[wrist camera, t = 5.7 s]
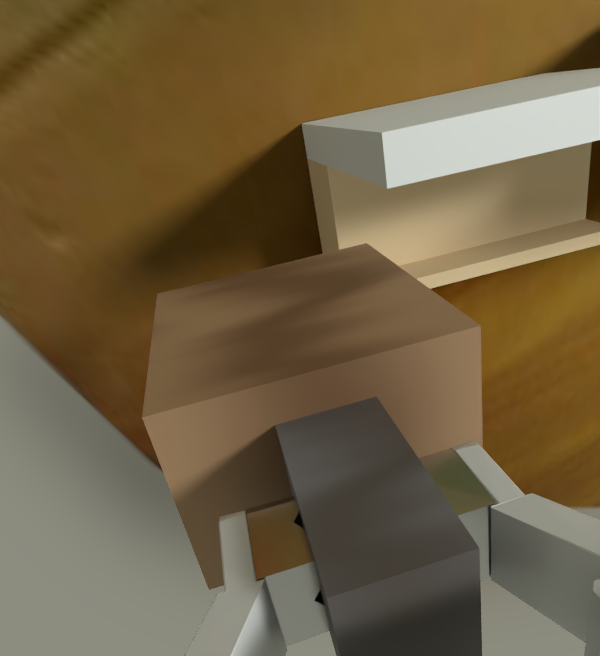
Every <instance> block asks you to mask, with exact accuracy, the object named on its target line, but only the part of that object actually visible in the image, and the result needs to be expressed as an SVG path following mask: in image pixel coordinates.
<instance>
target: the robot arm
mask: <svg viewBox="0 0 600 656" xmlns="http://www.w3.org/2000/svg"><path fill="white" fill-rule="evenodd" d="M419 460H420V461H421V463H422V464H423V466H424V467H425V469H426V470H427V472H428V473H429V474H430V476H431V477H432V479H433V480H434V482H435V483H436V485H437V486H438V488H439V489H440V491H441V492H442V494H443V495H444V497H445V498H446V499H447V501H448V502H449V504H450V505H451V507H452V508H453V510H454V511H455V513H456V514H457V516H458V517H459V519H460V520H461V522H462V523H463V524H464V526H465V527H466V529H467V530H468V532H469V533H470V535H471V536H472V538H473V539H474V541H475V542H476V544H477V545H478V547H479V549H480V581H481V580H484V579H487V578H490V577H491V579H492V580H493V581H494V582H495V583H497V584H499V585H500V586H502V587H503V588H505V589H506V590H508V591H509V592H510V593H512V594H513V595H515V596H517V597H518V598H519V599H521V600H522V601H524V602H525V603H527V604H529V605H530V606H531V607H533V608H534V609H536V610H538V611H539V612H540V613H542V614H543V615H545V616H546V617H548V618H549V619H551V620H552V621H554V622H555V623H557V624H558V625H560V626H561V627H563V628H564V629H566V630H567V631H569V632H570V633H572V634H573V635H575V636H576V637H578V638H579V639H581V640H582V641H584V642H585V643H586V646H585V654H584V656H600V520H598V519H595V518H593V517H590V516H588V515H585V514H583V513H580V512H578V511H575V510H573V509H570V508H568V507H565V506H563V505H560V504H558V503H555V502H553V501H550V500H548V499H545V498H543V497H540V496H538V495H535V494H533V493H531V494H528V495H524V494H523V492H522V491H521V490H520V489H519V488H518V487H517V486H516V485H515V484H514V483H513V481H512V480H511V479H510V478H509V477H508V476H507V475H506V474H505V473H504V471H503V470H502V469H501V468H500V467H499V466H498V465H497V464H496V463H495V461H494V460H493V459H492V458H491V457H490V456H489V455H488V454H487V453H486V452H485V450H484V449H483V448H482V447H481V446H480V445H479V444H478V443H477V442H474V441H471V442H468V443H464V444H461V445H458V446H455V447H452V448H450V449H446V450H443V451H439V452H436V453H433V454H430V455H427V456H423V457H420V458H419ZM219 534H220V545H221V556H222V567H223V579H224V590H225V591H224V592H222V593H219V594H217V595H216V597H215V598H214V600H213V602H212V604H211V606H210V608H209V610H208V612H207V614H206V616H205V617H204V619H203V621H202V623H201V625H200V627H199V629H198V631H197V633H196V635H195V637H194V638H193V640H192V642H191V644H190V646H189V648H188V650H187V652H186V654H185V656H285V655H286V652H287V648H286V647H287V646H289V645H292V644H295V643H297V642H300V641H303V640H306V639H308V638H311V637H313V636H316V635H319V634H321V633H324V632H327V631H330V626H329V622H328V618H327V614H326V609H325V605H324V602H323V598H322V595H321V592H320V589H321V588H320V584H319V580H318V576H317V572H316V567H315V563H314V560H313V556H312V553H311V549H310V546H309V543H308V539H307V536H306V532H305V529H303V525H302V521H301V516H300V512H299V509H298V505H297V502H296V499H295V496H292V497H288V498H285V499H281V500H278V501H274V502H270V503H267V504H263V505H259V506H256V507H252V508H248V509H246V510H244V511H240V512H236V513H233V514H229V515H225V516H221V517H220V519H219Z"/></svg>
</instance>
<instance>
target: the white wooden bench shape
mask: <svg viewBox="0 0 600 656" xmlns="http://www.w3.org/2000/svg"><path fill="white" fill-rule="evenodd" d="M302 130H303V136H304V142H305V148H306V154H307V160H308V167H309V173H310V179H311V185H312V191H313V197H314V203H315V210H316V216H317V222H318V228H319V234H320V240H321V247H322V253H323V254H324V253H328V252H332V251H336V250H340V249H344V248H349V247H353V246H357V245H361V244H365V243H367V244H369V245H370V246H371V247H373V248H374V249H376V250H377V251H378V252H380V253H381V254H382V255H384V256H385V257H387V258H388V259H389V260H391V261H392V262H393V263H395V264H396V265H398V266H399V267H400V268H402V269H403V270H405V271H406V272H407V273H409V274H410V275H411V276H413V277H414V278H416V279H417V280H418V281H420V282H421V283H422V284H424V285H425V286H427V287H428V288H429V289H431V288H435V287H438V286H442V285H446V284H450V283H454V282H458V281H462V280H465V279H469V278H473V277H477V276H481V275H485V274H489V273H492V272H496V271H500V270H504V269H508V268H512V267H516V266H519V265H523V264H527V263H531V262H535V261H539V260H543V259H546V258H550V257H554V256H558V255H562V254H566V253H569V252H573V251H577V250H581V249H585V248H589V247H593V246H596V245H600V222H596V221H592V220H588V219H586V209H587V196H588V183H589V170H590V157H591V144H592V142H593V141H598V140H600V68H593V69H583V70H573V71H563V72H553V73H543V74H538V75H534V76H529V77H524V78H519V79H514V80H509V81H505V82H500V83H495V84H490V85H485V86H480V87H476V88H471V89H466V90H461V91H456V92H451V93H447V94H442V95H437V96H432V97H427V98H423V99H418V100H413V101H408V102H403V103H398V104H394V105H389V106H384V107H379V108H374V109H369V110H365V111H360V112H355V113H350V114H345V115H340V116H336V117H331V118H326V119H321V120H316V121H312V122H307V123H302Z"/></svg>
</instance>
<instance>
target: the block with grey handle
mask: <svg viewBox="0 0 600 656" xmlns="http://www.w3.org/2000/svg"><path fill="white" fill-rule="evenodd" d="M142 418H143V421H144V424H145V426H146V429H147V431H148V434H149V436H150V439H151V442H152V444H153V447H154V449H155V452H156V454H157V457H158V460H159V462H160V465H161V467H162V470H163V472H164V475H165V478H166V480H167V483H168V485H169V488H170V490H171V493H172V496H173V498H174V501H175V503H176V506H177V508H178V511H179V514H180V516H181V518H182V521H183V524H184V526H185V529H186V531H187V534H188V537H189V539H190V542H191V544H192V547H193V549H194V552H195V555H196V557H197V560H198V562H199V565H200V567H201V570H202V573H203V575H204V578H205V580H206V583H207V585H208V588H209V589H212V588H216V587H219V586H222V585H224V579H223V567H222V556H221V545H220V534H219V519H220V517H221V516H225V515H229V514H233V513H236V512H240V511H244V510H246V509H248V508H252V507H256V506H259V505H263V504H267V503H270V502H274V501H278V500H281V499H285V498H288V497H292V496H295V499H296V502H297V505H298V509H299V512H300V516H301V521H302V525H303V529H305V532H306V536H307V539H308V543H309V546H310V549H311V553H312V556H313V560H314V563H315V567H316V572H317V576H318V580H319V584H320V588H321V589H320V592H321V595H322V598H323V602H324V605H325V609H326V614H327V618H328V622H329V626H330V634H331V638H332V641H333V644H334V648H335V652H336V655H337V656H482V640H481V595H480V594H481V593H480V549H479V547H478V545H477V544H476V542H475V541H474V539H473V538H472V536H471V535H470V533H469V532H468V530H467V529H466V527H465V526H464V524H463V523H462V522H461V520H460V519H459V517H458V516H457V514H456V513H455V511H454V510H453V508H452V507H451V505H450V504H449V502H448V501H447V499H446V498H445V497H444V495H443V494H442V492H441V491H440V489H439V488H438V486H437V485H436V483H435V482H434V480H433V479H432V477H431V476H430V474H429V473H428V472H427V470H426V469H425V467H424V466H423V464H422V463H421V461H420V460H419V458H420V457H423V456H427V455H430V454H433V453H436V452H439V451H443V450H446V449H450V448H452V447H455V446H458V445H461V444H464V443H468V442H471V441H474V442H477V443H478V444H479V445H480V446H481V447H482V448H483V437H482V376H481V326H480V325H479V324H478V323H476V322H475V321H473V320H472V319H471V318H469V317H468V316H467V315H465V314H464V313H462V312H461V311H460V310H458V309H457V308H456V307H454V306H453V305H451V304H450V303H449V302H447V301H446V300H445V299H443V298H442V297H440V296H439V295H438V294H436V293H435V292H433V291H432V290H431V289H429V288H428V287H427V286H425V285H424V284H422V283H421V282H420V281H418V280H417V279H416V278H414V277H413V276H411V275H410V274H409V273H407V272H406V271H405V270H403V269H402V268H400V267H399V266H398V265H396V264H395V263H393V262H392V261H391V260H389V259H388V258H387V257H385V256H384V255H382V254H381V253H380V252H378V251H377V250H376V249H374V248H373V247H371V246H370V245H369V244H367V243H365V244H361V245H357V246H353V247H349V248H344V249H340V250H336V251H332V252H328V253H324V254H320V255H315V256H311V257H307V258H303V259H299V260H295V261H291V262H286V263H282V264H278V265H274V266H270V267H266V268H262V269H257V270H253V271H249V272H245V273H241V274H237V275H233V276H228V277H224V278H220V279H216V280H212V281H208V282H204V283H199V284H195V285H191V286H187V287H183V288H179V289H175V290H170V291H166V292H162V293H158V294H157V301H156V309H155V317H154V325H153V334H152V342H151V350H150V358H149V366H148V374H147V382H146V390H145V398H144V407H143V415H142Z"/></svg>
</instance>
